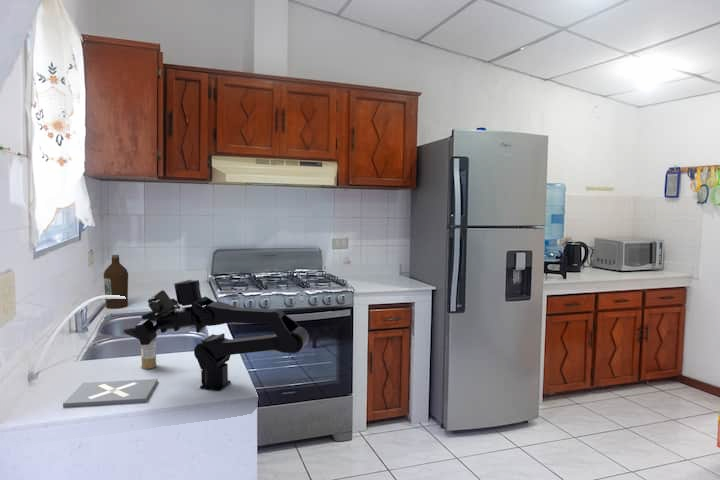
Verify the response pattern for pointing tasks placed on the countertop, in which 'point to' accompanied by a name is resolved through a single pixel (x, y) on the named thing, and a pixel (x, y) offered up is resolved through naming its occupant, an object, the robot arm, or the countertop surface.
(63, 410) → the countertop surface
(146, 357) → the sprinkles bottle
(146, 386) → the board
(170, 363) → the countertop surface
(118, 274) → the olive oil
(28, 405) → the countertop surface
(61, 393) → the countertop surface
